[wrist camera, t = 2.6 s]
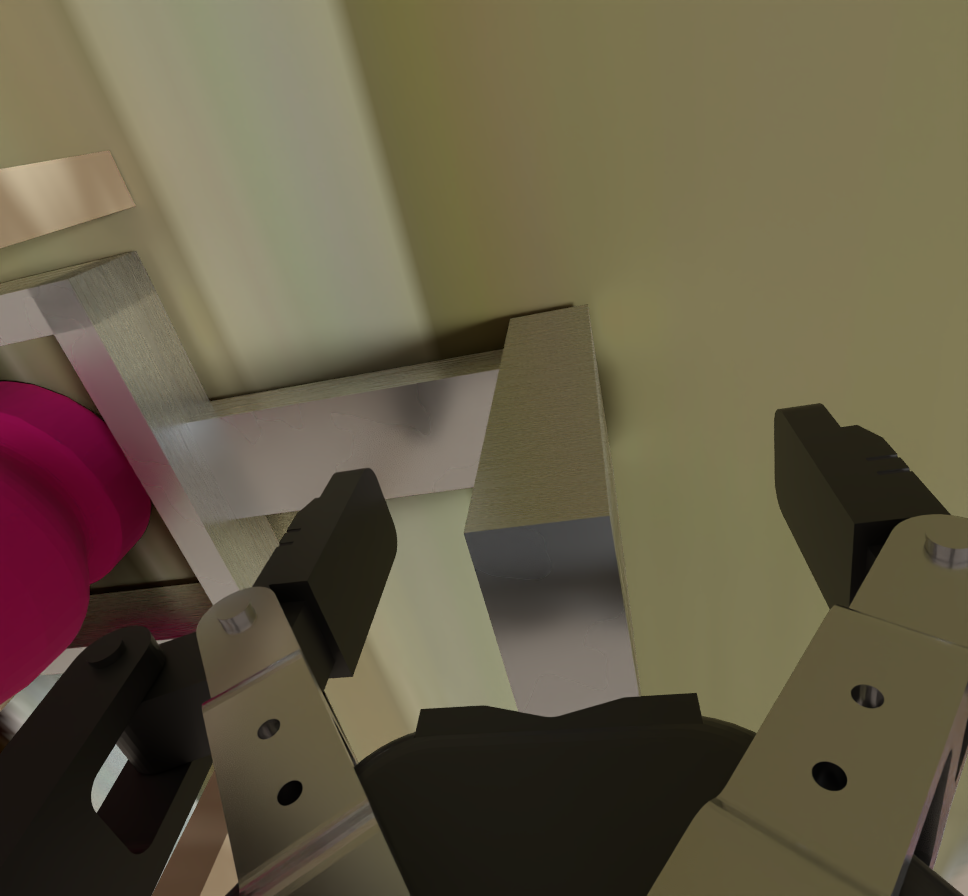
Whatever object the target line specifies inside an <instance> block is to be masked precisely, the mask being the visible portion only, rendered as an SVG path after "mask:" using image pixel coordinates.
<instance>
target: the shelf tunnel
mask: <svg viewBox="0 0 968 896" xmlns="http://www.w3.org/2000/svg"><path fill="white" fill-rule="evenodd" d="M134 206H135V204H134V201H133V199H132V197H131V195H130V193H129V191H128V189H127V187H126V185H125V182H124V180H123V178H122V176H121V174H120V172H119V170H118V168H117V166H116V163H115V161H114V159H113V157H112V155H111V153H110V151H103V152H97V153H91V154H85V155H80V156H74V157H68V158H62V159H56V160H50V161H45V162H39V163H33V164H27V165H21V166H16V167H10V168H4V169H0V248H3V247H7V246H10V245H13V244H16V243H19V242H23V241H26V240H29V239H32V238H35V237H39V236H42V235H45V234H48V233H51V232H55V231H58V230H61V229H64V228H67V227H71V226H74V225H77V224H80V223H83V222H87V221H90V220H93V219H96V218H99V217H103V216H106V215H109V214H112V213H115V212H118V211H122V210H125V209H128V208H131V207H134ZM13 697H14V696H12V697H11V698H9V699H8V700H7V701H5V702H4V703H2V704H1V705H0V711H1V710H2V709H3V708H4V707H5V706H6V704H7V703H8V702H9V701H10V700H11V699H12V698H13ZM237 883H238V878H237V873H236V869H235V864H234V859H233V854H232V850H231V845H230V840H229V836H228V831H227V826H226V821H225V817H224V812H223V807H222V802H221V798H220V793H219V788H218V784H217V779H216V774H215V770H214V772H213V774H212V776H211V778H210V780H209V782H208V784H207V786H206V788H205V790H204V792H203V794H202V796H201V798H200V800H199V802H198V804H197V806H196V808H195V810H194V812H193V814H192V816H191V818H190V820H189V822H188V824H187V826H186V828H185V830H184V832H183V834H182V836H181V838H180V840H179V842H178V844H177V846H176V848H175V850H174V852H173V854H172V856H171V858H170V860H169V862H168V864H167V866H166V868H165V870H164V872H163V874H162V876H161V878H160V880H159V882H158V884H157V886H156V888H155V890H154V892H153V894H152V896H225V895H226V894H227V893H228V892H229V891H230V890H231V889H232V888H233V887H234V886H235V885H236V884H237Z"/></svg>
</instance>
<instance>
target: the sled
mask: <svg viewBox="0 0 968 896" xmlns="http://www.w3.org/2000/svg"><path fill="white" fill-rule="evenodd" d="M49 335H55V337H56V339H57V341H58V342H59V344H60V346H61V347H62V349H63V351H64V352H65V354H66V356H67V358H68V359H69V361H70V363H71V364H72V366H73V368H74V369H75V371H76V373H77V375H78V376H79V378H80V380H81V381H82V383H83V385H84V386H85V388H86V390H87V392H88V393H89V395H90V397H91V398H92V400H93V402H94V403H95V405H96V407H97V409H98V410H99V412H100V414H101V415H102V417H103V419H104V420H105V422H106V424H107V426H108V427H109V429H110V431H111V432H112V434H113V436H114V437H115V439H116V441H117V443H118V444H119V446H120V448H121V449H122V451H123V453H124V454H125V456H126V458H127V460H128V461H129V463H130V465H131V466H132V468H133V470H134V471H135V473H136V475H137V476H138V478H139V480H140V482H141V483H142V485H143V487H144V488H145V490H146V492H147V493H148V495H149V497H150V499H151V500H152V502H153V504H154V505H155V507H156V509H157V510H158V512H159V514H160V516H161V517H162V519H163V521H164V522H165V524H166V526H167V527H168V529H169V531H170V533H171V534H172V536H173V538H174V539H175V541H176V543H177V544H178V546H179V548H180V550H181V551H182V553H183V555H184V556H185V558H186V560H187V561H188V563H189V565H190V567H191V568H192V570H193V572H194V573H195V575H196V577H197V578H198V580H199V582H200V583H195V584H186V585H177V586H168V587H159V588H150V589H141V590H132V591H123V592H114V593H105V594H96V595H90V599H89V604H88V609H87V613H86V617H85V619H84V621H83V624H82V626H81V628H80V631H79V632H78V634H77V635H76V637H75V639H74V640H73V641H72V643H71V644H70V645H69V646H68V647H67V648H66V649H65V651H64V652H63V653H62V654H60V655H59V656H58V657H57V658H56V659H55V660H54V661H53V662H52V663H51V664H50V665H49V666H48V667H47V668H46V669H45V670H44V671H43V672H42V673H41V674H40V675H49V674H61V673H64V672H65V671H66V669H67V668H68V667H69V666H70V664H71V663H72V662H73V661H74V659H75V658H76V657H77V656H78V655H79V654H80V653H81V652H82V651H83V650H84V649H85V648H87V647H88V646H89V645H90V644H92V643H93V642H95V641H96V640H98V639H99V638H101V637H103V636H104V635H106V634H108V633H110V632H113V631H115V630H117V629H120V628H124V627H128V626H136V625H137V626H143V627H146V628H147V629H149V631H150V632H151V634H152V635H153V637H154V638H155V640H156V641H157V643H158V644H161V643H164V642H167V641H170V640H173V639H176V638H179V637H182V636H185V635H188V634H191V633H194V632H196V629H197V626H198V623H199V621H200V620H201V618H202V617H203V615H204V614H205V613H206V612H207V611H208V610H209V609H210V608H211V607H212V606H213V605H214V604H216V603H217V602H218V601H220V600H221V599H223V598H224V597H226V596H228V595H230V594H232V593H234V592H236V591H239V590H242V589H245V588H249V587H252V586H253V584H254V583H255V581H256V579H257V578H258V576H259V575H260V573H261V571H262V570H263V568H264V566H265V565H266V563H267V562H268V560H269V558H270V557H271V555H272V553H273V552H274V550H275V549H276V547H278V546H279V542H278V540H277V538H276V536H275V534H274V532H273V530H272V528H271V525H270V523H269V521H268V519H267V517H266V515H269V514H277V513H284V512H292V511H299V510H302V509H303V508H304V507H305V506H306V505H307V504H309V503H310V502H311V501H312V500H313V499H314V498H319V497H320V496H321V494H322V492H323V491H324V489H325V487H326V486H327V484H328V482H329V480H330V479H331V477H332V475H333V474H334V473H336V472H342V471H349V470H356V469H362V468H370V469H372V470H373V471H374V473H375V475H376V477H377V479H378V482H379V485H380V487H381V490H382V493H383V496H384V498H385V499H389V498H396V497H404V496H411V495H419V494H426V493H434V492H441V491H449V490H456V489H464V488H471V487H474V488H473V492H472V497H471V502H470V506H469V511H468V515H467V520H466V525H465V529H464V536H465V539H466V542H467V545H468V549H469V552H470V555H471V558H472V562H473V565H474V568H475V571H476V575H477V578H478V581H479V584H480V588H481V591H482V594H483V597H484V601H485V604H486V607H487V610H488V614H489V617H490V620H491V623H492V627H493V630H494V633H495V636H496V640H497V643H498V646H499V650H500V653H501V656H502V659H503V663H504V666H505V669H506V672H507V676H508V679H509V682H510V685H511V689H512V692H513V695H514V698H515V702H516V705H517V708H518V711H519V712H522V713H528V714H533V715H539V716H544V717H556V716H561V715H564V714H567V713H571V712H574V711H578V710H581V709H585V708H588V707H592V706H595V705H599V704H602V703H606V702H609V701H613V700H616V699H620V698H623V697H637V696H641V690H640V682H639V674H638V666H637V658H636V650H635V642H634V633H633V625H632V617H631V609H630V601H629V593H628V585H627V577H626V569H625V561H624V553H623V545H622V537H621V529H620V521H619V513H618V505H617V497H616V489H615V481H614V472H613V465H612V458H611V452H610V445H609V439H608V432H607V426H606V419H605V413H604V406H603V400H602V394H601V387H600V381H599V374H598V368H597V361H596V355H595V348H594V342H593V335H592V329H591V322H590V316H589V309H588V304H586V305H581V306H576V307H570V308H565V309H560V310H554V311H549V312H544V313H538V314H533V315H528V316H522V317H517V318H512V319H510V322H509V327H508V331H507V336H506V340H505V345H504V349H500V350H495V351H489V352H484V353H478V354H472V355H467V356H461V357H456V358H450V359H444V360H439V361H433V362H428V363H422V364H416V365H411V366H405V367H400V368H394V369H388V370H383V371H377V372H372V373H366V374H360V375H355V376H349V377H344V378H338V379H332V380H327V381H321V382H316V383H310V384H304V385H299V386H293V387H288V388H282V389H277V390H271V391H265V392H260V393H254V394H249V395H243V396H237V397H232V398H226V399H221V400H215V401H209V399H208V397H207V395H206V393H205V391H204V389H203V386H202V384H201V382H200V380H199V378H198V376H197V374H196V372H195V370H194V368H193V366H192V364H191V362H190V360H189V358H188V356H187V354H186V352H185V350H184V348H183V346H182V344H181V341H180V339H179V337H178V335H177V333H176V331H175V329H174V327H173V325H172V323H171V321H170V319H169V317H168V315H167V313H166V311H165V309H164V307H163V305H162V303H161V301H160V299H159V297H158V294H157V292H156V290H155V288H154V286H153V284H152V282H151V280H150V278H149V276H148V274H147V272H146V270H145V268H144V266H143V264H142V262H141V260H140V258H139V256H138V254H137V252H136V251H133V252H129V253H125V254H121V255H117V256H112V257H108V258H104V259H100V260H96V261H92V262H88V263H83V264H79V265H75V266H71V267H67V268H63V269H59V270H54V271H50V272H46V273H42V274H38V275H34V276H30V277H25V278H21V279H17V280H13V281H9V282H5V283H0V346H3V345H7V344H12V343H17V342H21V341H26V340H30V339H35V338H40V337H44V336H49Z"/></svg>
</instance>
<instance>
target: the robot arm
mask: <svg viewBox="0 0 968 896" xmlns="http://www.w3.org/2000/svg"><path fill="white" fill-rule="evenodd" d="M774 449H775V488H776V494H777V499H778V503H779V506H780V509H781V512H782V514H783V516H784V518H785V520H786V522H787V524H788V526H789V528H790V530H791V532H792V534H793V536H794V538H795V540H796V542H797V544H798V546H799V548H800V550H801V552H802V554H803V556H804V558H805V560H806V562H807V564H808V566H809V568H810V570H811V572H812V574H813V576H814V578H815V580H816V582H817V584H818V586H819V588H820V590H821V592H822V594H823V596H824V598H825V600H826V602H827V604H828V606H829V608H830V610H829V612H828V613H827V615H826V616H825V618H824V620H823V622H822V623H821V625H820V627H819V628H818V630H817V632H816V633H815V635H814V637H813V639H812V640H811V642H810V644H809V645H808V647H807V649H806V650H805V652H804V654H803V656H802V657H801V659H800V661H799V662H798V664H797V666H796V667H795V669H794V671H793V673H792V674H791V676H790V678H789V679H788V681H787V683H786V684H785V686H784V688H783V690H782V691H781V693H780V695H779V696H778V698H777V700H776V701H775V703H774V705H773V707H772V708H771V710H770V712H769V713H768V715H767V717H766V718H765V720H764V722H763V724H762V725H761V727H760V729H759V730H758V732H757V733H755V732H753V731H751V730H748V729H746V728H743V727H741V726H738V725H736V724H733V723H729V722H726V721H722V720H719V719H715V718H710V717H704V716H701V711H700V706H699V702H698V697H697V693H688V694H671V695H654V696H637V697H623V698H620V699H616V700H613V701H609V702H606V703H602V704H599V705H595V706H592V707H588V708H585V709H581V710H578V711H574V712H571V713H567V714H564V715H561V716H556V717H544V716H539V715H533V714H528V713H522V712H517V711H511V710H506V709H501V708H495V707H490V706H467V707H450V708H433V709H421V711H420V715H419V719H418V724H417V728H416V732H414V733H411V734H408V735H405V736H403V737H401V738H398V739H396V740H393V741H392V742H390V743H388V744H386V745H384V746H382V747H380V748H379V749H377V750H376V751H374V752H373V753H371V754H370V755H368V756H367V757H366V758H364V759H363V760H362V761H361V762H358V760H357V758H356V756H355V754H354V752H353V750H352V748H351V745H350V743H349V741H348V739H347V737H346V735H345V733H344V731H343V728H342V726H341V724H340V722H339V720H338V718H337V716H336V714H335V711H334V709H333V707H332V705H331V703H330V701H329V699H328V697H327V695H326V693H325V691H324V689H325V686H326V683H327V681H328V678H341V677H353V674H354V671H355V668H356V666H357V663H358V660H359V657H360V654H361V652H362V649H363V646H364V643H365V640H366V638H367V635H368V632H369V629H370V626H371V623H372V621H373V618H374V615H375V612H376V609H377V607H378V604H379V601H380V598H381V595H382V593H383V590H384V587H385V584H386V581H387V579H388V576H389V573H390V570H391V567H392V564H393V562H394V559H395V556H396V552H397V535H396V530H395V526H394V523H393V520H392V517H391V515H390V512H389V509H388V507H387V504H386V501H385V498H384V496H383V493H382V490H381V487H380V485H379V482H378V479H377V477H376V475H375V473H374V471H373V470H372V469H370V468H362V469H356V470H349V471H342V472H336V473H334V474H333V475H332V477H331V479H330V480H329V482H328V484H327V486H326V487H325V489H324V491H323V492H322V494H321V496H320V497H319V498H314V499H313V500H312V501H311V502H310V503H309V504H307V505H306V506H305V507H304V508H303V509H302V510H301V511H299V512H298V513H297V515H296V516H295V518H294V519H293V521H292V523H291V524H290V526H289V528H288V529H287V533H285V534H284V536H283V537H282V539H281V540H280V542H279V546H278V547H276V549H275V550H274V552H273V553H272V555H271V557H270V558H269V560H268V562H267V563H266V565H265V566H264V568H263V570H262V571H261V573H260V575H259V576H258V578H257V579H256V581H255V583H254V584H253V586H252V587H249V588H245V589H242V590H239V591H236V592H234V593H232V594H230V595H228V596H226V597H224V598H223V599H221V600H220V601H218V602H217V603H216V604H214V605H213V606H212V607H211V608H210V609H209V610H208V611H207V612H206V613H205V614H204V615H203V617H202V618H201V620H200V621H199V623H198V626H197V629H196V632H194V633H191V634H188V635H185V636H182V637H179V638H176V639H173V640H170V641H167V642H164V643H161V644H158V643H157V641H156V640H155V638H154V637H153V635H152V634H151V632H150V631H149V629H147V628H146V627H143V626H137V625H136V626H128V627H124V628H120V629H117V630H115V631H113V632H110V633H108V634H106V635H104V636H103V637H101V638H99V639H98V640H96V641H95V642H93V643H92V644H90V645H89V646H88V647H87V648H85V649H84V650H83V651H82V652H81V653H80V654H79V655H78V656H77V657H76V658H75V659H74V661H73V662H72V663H71V664H70V666H69V667H68V668H67V669H66V671H65V672H64V673H63V675H62V676H61V677H60V678H59V680H58V681H57V682H56V683H55V685H54V686H53V687H52V689H51V690H50V691H49V692H48V694H47V695H46V696H45V697H44V699H43V700H42V701H41V703H40V704H39V705H38V706H37V708H36V709H35V710H34V711H33V713H32V714H31V715H30V717H29V718H28V719H27V720H26V722H25V723H24V724H23V726H22V727H21V728H20V729H19V731H18V732H17V733H16V734H15V736H14V737H13V738H12V740H11V741H10V742H9V743H8V745H7V746H6V747H5V748H4V750H3V751H2V752H1V754H0V896H151V895H152V893H153V891H154V889H155V887H156V885H157V882H158V880H159V878H160V876H161V874H162V871H163V869H164V867H165V865H166V863H167V861H168V858H169V856H170V854H171V852H172V850H173V848H174V845H175V843H176V841H177V839H178V837H179V834H180V832H181V830H182V828H183V826H184V824H185V821H186V819H187V817H188V815H189V813H190V810H191V808H192V806H193V804H194V802H195V800H196V797H197V795H198V793H199V791H200V789H201V787H202V784H203V782H204V780H205V778H206V776H207V773H208V771H209V769H210V767H211V765H212V763H213V765H214V769H215V774H216V779H217V784H218V788H219V793H220V798H221V802H222V807H223V812H224V817H225V821H226V826H227V831H228V836H229V840H230V845H231V850H232V854H233V859H234V864H235V869H236V873H237V878H238V883H237V884H236V885H235V886H234V887H233V888H232V889H231V890H230V891H229V892H228V893H227V894H226V895H225V896H964V895H963V894H961V893H960V892H959V891H958V890H956V889H955V888H954V887H953V886H952V885H950V884H949V883H948V882H947V881H946V880H944V879H943V878H942V877H941V876H939V875H938V874H937V873H936V872H935V871H933V868H934V865H935V862H936V858H937V855H938V851H939V848H940V844H941V841H942V837H943V833H944V830H945V826H946V822H947V818H948V815H949V811H950V808H951V804H952V801H953V798H954V795H955V792H956V788H957V785H958V782H959V779H960V776H961V773H962V770H963V767H964V764H965V761H966V758H967V755H968V518H964V517H959V516H953V515H951V514H950V513H949V512H948V511H947V510H946V509H945V508H944V507H943V505H942V504H941V503H940V502H939V501H938V500H937V499H936V497H935V496H934V495H933V494H932V493H931V492H930V491H929V490H928V488H927V487H926V486H925V485H924V484H923V483H922V482H921V480H920V479H919V478H918V477H917V476H916V475H915V474H914V473H913V471H911V472H910V470H909V467H908V466H907V465H906V463H905V462H904V461H903V460H902V459H901V458H900V457H899V458H898V457H897V453H896V452H895V451H894V450H893V449H892V448H891V447H890V445H889V444H888V443H887V442H886V441H885V440H884V439H883V438H882V437H880V436H878V435H876V434H874V433H872V432H870V431H868V430H866V429H864V428H862V427H860V426H858V425H854V426H847V427H840V425H839V424H838V423H837V422H836V420H835V419H834V418H833V417H832V415H831V414H830V413H829V412H828V410H827V409H826V408H825V407H824V405H823V404H821V403H818V404H811V405H805V406H798V407H791V408H784V409H778V410H777V411H776V413H775V418H774ZM115 744H117V746H118V747H119V748H120V749H121V751H122V752H123V753H124V755H125V756H126V757H127V758H128V761H127V763H126V764H125V766H124V768H123V769H122V771H121V773H120V774H119V776H118V778H117V780H116V781H115V783H114V785H113V786H112V788H111V790H110V792H109V793H108V795H107V797H106V798H105V800H104V802H103V803H102V805H101V807H100V809H99V810H98V812H97V813H96V812H95V811H94V809H93V806H92V802H91V791H92V786H93V782H94V780H95V777H96V775H97V773H98V772H99V770H100V769H101V767H102V765H103V764H104V762H105V760H106V759H107V757H108V756H109V754H110V752H111V751H112V749H113V748H114V746H115Z"/></svg>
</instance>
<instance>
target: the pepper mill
mask: <svg viewBox="0 0 968 896" xmlns="http://www.w3.org/2000/svg"><path fill="white" fill-rule="evenodd" d="M150 513H151V499H150V497H149V495H148V493H147V492H146V490H145V488H144V487H143V485H142V483H141V482H140V480H139V478H138V476H137V475H136V473H135V471H134V470H133V468H132V466H131V465H130V463H129V461H128V460H127V458H126V456H125V454H124V453H123V451H122V449H121V448H120V446H119V444H118V443H117V441H116V439H115V437H114V436H113V434H112V432H111V431H110V429H109V427H108V426H107V424H106V423H105V422H104V421H103V420H102V419H100V418H99V417H98V416H97V415H95V414H94V413H93V412H92V411H90V410H88V409H87V408H85V407H83V406H82V405H80V404H78V403H77V402H75V401H73V400H72V399H70V398H68V397H66V396H64V395H61V394H58V393H55V392H53V391H50V390H47V389H45V388H42V387H39V386H36V385H33V384H26V383H18V382H6V381H1V382H0V705H1V704H2V703H4V702H5V701H7V700H8V699H9V698H11V697H12V696H14V695H15V694H17V693H18V692H19V691H21V690H22V689H24V688H25V687H27V686H28V685H29V684H30V683H31V682H32V681H33V680H34V679H35V678H37V677H38V676H39V675H40V674H41V673H42V672H43V671H44V670H45V669H46V668H47V667H48V666H49V665H50V664H51V663H52V662H53V661H54V660H55V659H56V658H57V657H58V656H59V655H60V654H62V653H63V652H64V651H65V649H66V648H67V647H68V646H69V645H70V644H71V643H72V641H73V640H74V639H75V637H76V635H77V634H78V632H79V631H80V628H81V626H82V624H83V621H84V619H85V617H86V613H87V609H88V604H89V599H90V584H92V583H94V582H96V581H99V580H100V579H101V578H103V577H104V576H105V575H107V574H108V573H109V572H110V571H111V570H112V569H113V568H114V567H115V566H116V565H117V563H118V562H119V561H120V560H121V559H122V558H123V557H124V556H125V555H126V554H127V552H128V551H129V550H130V549H131V548H132V547H133V546H134V545H135V544H136V543H137V541H138V540H139V539H140V538H141V537H142V535H143V534H144V532H145V530H146V528H147V526H148V523H149V518H150Z"/></svg>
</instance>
